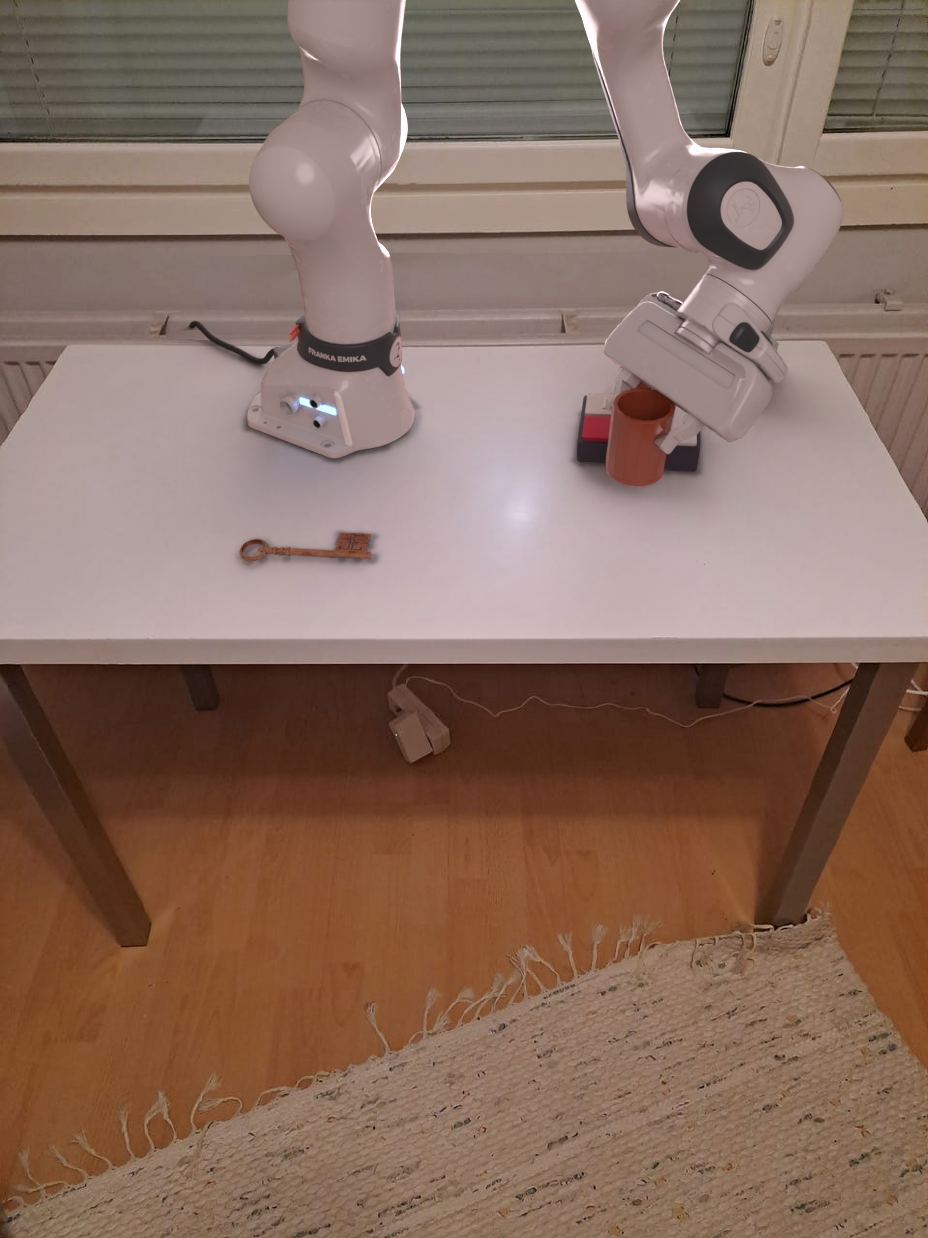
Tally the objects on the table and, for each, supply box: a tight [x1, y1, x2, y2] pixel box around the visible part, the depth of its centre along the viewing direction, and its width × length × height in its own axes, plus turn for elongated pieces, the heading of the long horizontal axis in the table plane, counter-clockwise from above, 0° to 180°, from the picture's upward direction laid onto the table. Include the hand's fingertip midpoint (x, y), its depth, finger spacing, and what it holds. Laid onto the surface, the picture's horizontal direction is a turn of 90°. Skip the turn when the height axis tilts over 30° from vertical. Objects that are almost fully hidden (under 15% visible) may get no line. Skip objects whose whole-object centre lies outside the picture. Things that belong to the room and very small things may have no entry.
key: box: [239, 531, 372, 562], centre depth 105 cm, size 6×1×15 cm
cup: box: [605, 388, 676, 488], centre depth 101 cm, size 7×7×8 cm
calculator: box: [576, 392, 701, 472], centre depth 117 cm, size 11×4×15 cm
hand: (636, 431), depth 100 cm, fingers closed on cup, 7 cm apart
